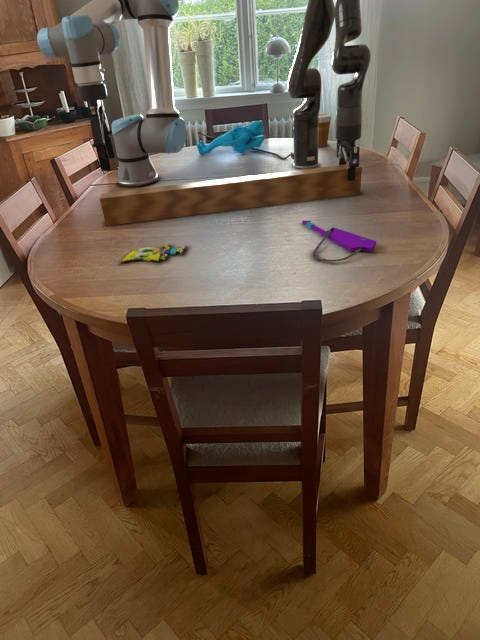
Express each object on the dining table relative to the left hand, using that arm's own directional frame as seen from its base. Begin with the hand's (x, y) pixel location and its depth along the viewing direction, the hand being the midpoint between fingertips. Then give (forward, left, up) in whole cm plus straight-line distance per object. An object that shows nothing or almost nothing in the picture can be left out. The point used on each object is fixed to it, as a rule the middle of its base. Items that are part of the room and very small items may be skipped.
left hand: (108, 164), depth 140 cm
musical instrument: (+51, +41, -18) cm, 68 cm away
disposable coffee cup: (-36, +97, -18) cm, 105 cm away
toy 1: (+30, +1, -18) cm, 35 cm away
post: (+11, +34, -18) cm, 40 cm away
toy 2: (-52, +62, -18) cm, 83 cm away
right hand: (+22, +68, -12) cm, 73 cm away
